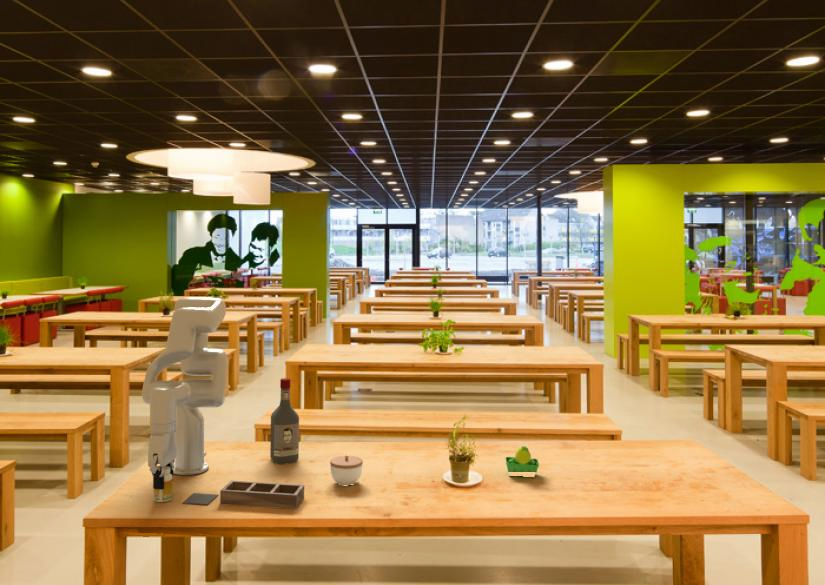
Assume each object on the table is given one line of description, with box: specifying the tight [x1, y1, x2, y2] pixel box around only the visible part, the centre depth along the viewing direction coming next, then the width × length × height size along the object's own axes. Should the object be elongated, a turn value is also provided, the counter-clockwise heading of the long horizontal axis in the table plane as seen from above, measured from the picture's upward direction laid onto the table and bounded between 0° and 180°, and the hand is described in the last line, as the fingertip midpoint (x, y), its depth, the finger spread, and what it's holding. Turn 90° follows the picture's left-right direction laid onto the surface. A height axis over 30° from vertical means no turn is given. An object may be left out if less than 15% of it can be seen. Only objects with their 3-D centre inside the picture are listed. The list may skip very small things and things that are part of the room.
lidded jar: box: [329, 454, 364, 486], centre depth 225 cm, size 11×11×9 cm
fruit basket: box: [504, 445, 540, 473], centre depth 237 cm, size 11×9×11 cm
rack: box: [219, 480, 305, 510], centre depth 207 cm, size 9×24×4 cm, turn 84°
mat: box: [182, 492, 219, 506], centre depth 207 cm, size 8×8×1 cm
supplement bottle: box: [153, 466, 174, 503], centre depth 206 cm, size 5×5×10 cm
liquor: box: [269, 377, 300, 465], centre depth 247 cm, size 9×9×30 cm
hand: (163, 484), depth 206 cm, fingers closed on supplement bottle, 5 cm apart
